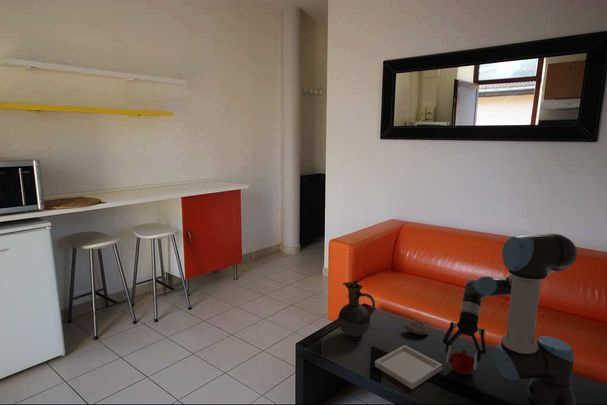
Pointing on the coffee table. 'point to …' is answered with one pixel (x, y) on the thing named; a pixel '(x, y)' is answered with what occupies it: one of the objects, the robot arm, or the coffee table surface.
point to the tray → (408, 366)
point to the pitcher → (355, 313)
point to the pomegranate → (462, 363)
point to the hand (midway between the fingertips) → (460, 365)
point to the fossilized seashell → (417, 328)
